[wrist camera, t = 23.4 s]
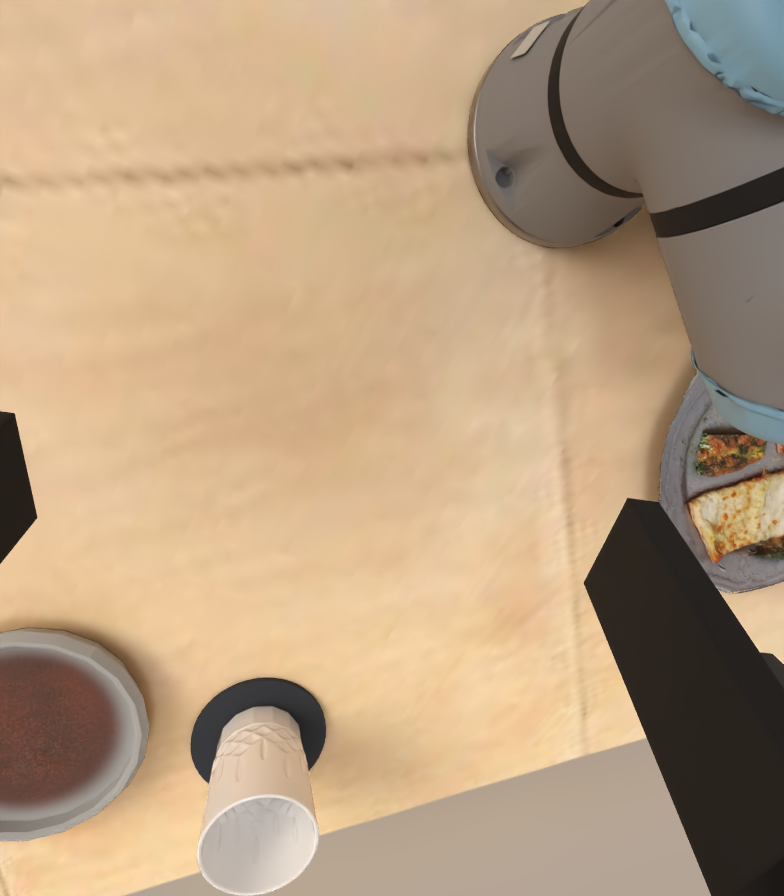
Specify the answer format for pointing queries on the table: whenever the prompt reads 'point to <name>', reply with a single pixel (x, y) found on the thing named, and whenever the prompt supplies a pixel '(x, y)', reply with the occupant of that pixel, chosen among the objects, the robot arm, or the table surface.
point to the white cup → (258, 806)
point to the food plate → (724, 495)
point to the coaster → (257, 695)
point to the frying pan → (63, 731)
